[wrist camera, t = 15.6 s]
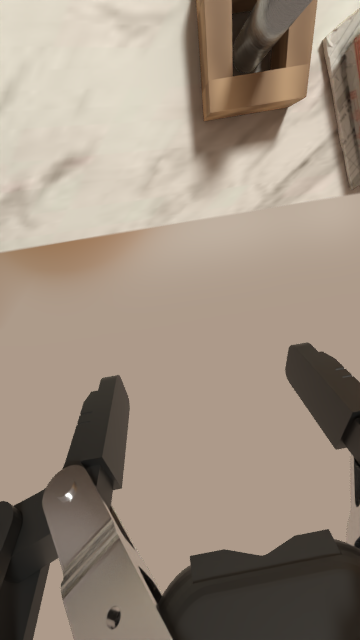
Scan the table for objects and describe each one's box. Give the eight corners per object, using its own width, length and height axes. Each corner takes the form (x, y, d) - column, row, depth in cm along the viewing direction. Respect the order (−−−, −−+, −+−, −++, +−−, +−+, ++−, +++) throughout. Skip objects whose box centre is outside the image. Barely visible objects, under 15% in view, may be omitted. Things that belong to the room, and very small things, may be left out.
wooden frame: (203, 121, 29) (210, 112, 25) (194, -20, 23) (201, -56, 19) (288, 107, 29) (306, 96, 25) (300, -38, 23) (326, -77, 19)
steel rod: (232, 75, 27) (279, 8, 16) (232, 32, 25) (284, -74, 15) (260, 70, 27) (325, 0, 16) (262, 27, 25) (335, -82, 15)
